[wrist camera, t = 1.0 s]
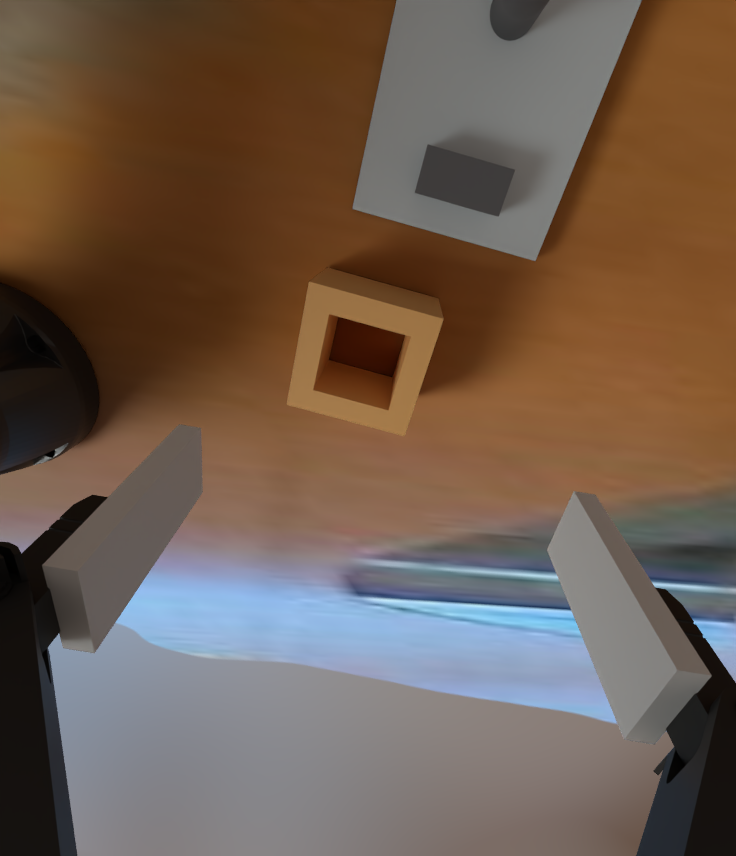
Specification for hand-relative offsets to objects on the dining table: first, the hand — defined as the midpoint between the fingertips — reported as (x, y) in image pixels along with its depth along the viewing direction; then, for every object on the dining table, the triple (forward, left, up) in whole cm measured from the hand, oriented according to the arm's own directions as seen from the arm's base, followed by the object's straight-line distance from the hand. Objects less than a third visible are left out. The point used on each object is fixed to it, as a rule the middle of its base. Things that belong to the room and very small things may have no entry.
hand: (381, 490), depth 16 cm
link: (-2, 0, -19) cm, 19 cm away
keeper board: (+1, +16, -19) cm, 25 cm away
